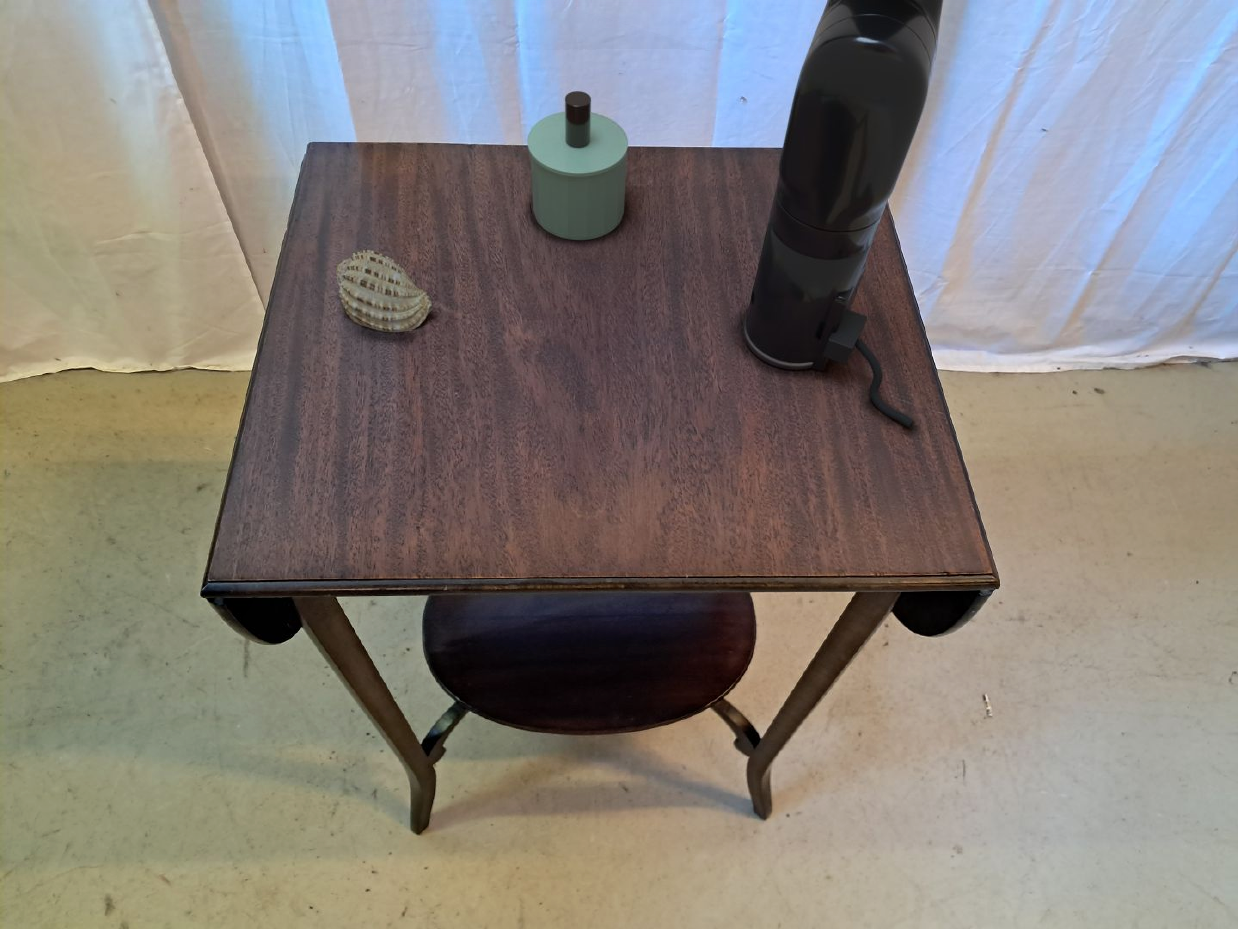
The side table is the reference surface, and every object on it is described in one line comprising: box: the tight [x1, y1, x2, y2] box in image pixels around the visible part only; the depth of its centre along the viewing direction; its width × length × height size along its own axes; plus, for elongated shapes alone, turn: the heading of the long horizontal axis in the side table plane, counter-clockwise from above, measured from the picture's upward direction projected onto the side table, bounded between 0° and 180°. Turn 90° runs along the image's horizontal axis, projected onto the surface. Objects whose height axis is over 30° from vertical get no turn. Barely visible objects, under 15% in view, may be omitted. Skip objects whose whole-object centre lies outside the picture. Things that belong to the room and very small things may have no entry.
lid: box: [526, 90, 629, 177], centre depth 89 cm, size 10×10×6 cm
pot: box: [530, 153, 628, 241], centre depth 95 cm, size 10×10×8 cm
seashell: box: [335, 249, 434, 333], centre depth 87 cm, size 8×6×10 cm
